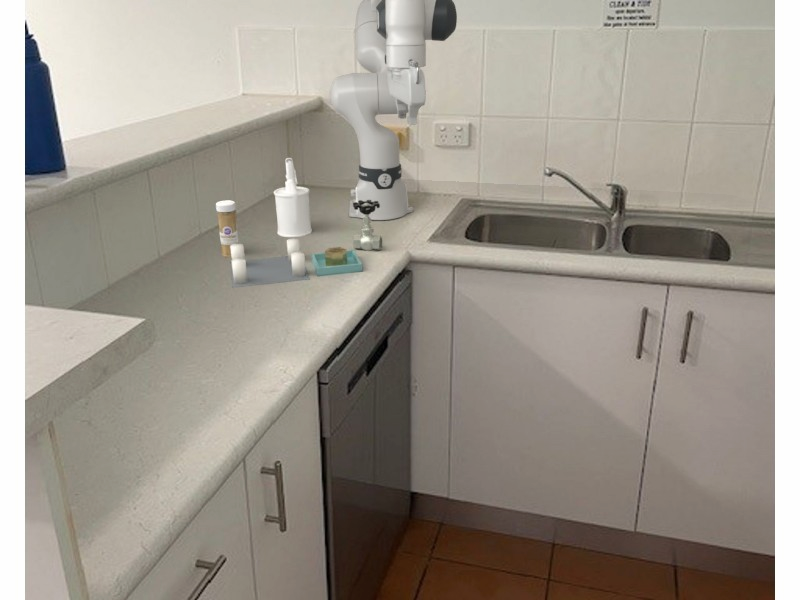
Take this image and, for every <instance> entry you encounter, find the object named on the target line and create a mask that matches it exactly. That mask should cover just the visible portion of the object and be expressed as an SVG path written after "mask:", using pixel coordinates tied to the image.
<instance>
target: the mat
mask: <svg viewBox="0 0 800 600" xmlns="http://www.w3.org/2000/svg"><path fill="white" fill-rule="evenodd" d="M245 260H246V269H247V278H248V282H247V283H244V284H235V283H234V278H233V269H232V261H229V265H230V278H231V287H232V288H233V289H234V288H241V287H242V288H243V287H253V286H261V285H269V284H280V283H288V282H289V283H290V282H298V281H300V282H301V281H307V280H308V281H310V280H311V278H310V276H309V275H310V274H309V272H308V269H307V267H306V265H305V268H306V275H305V276H303V277H294V276H293V273H292V262H289V261H288V255H286V256H285V255H284V256H275V257H265V258H255V259H245Z"/></svg>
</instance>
